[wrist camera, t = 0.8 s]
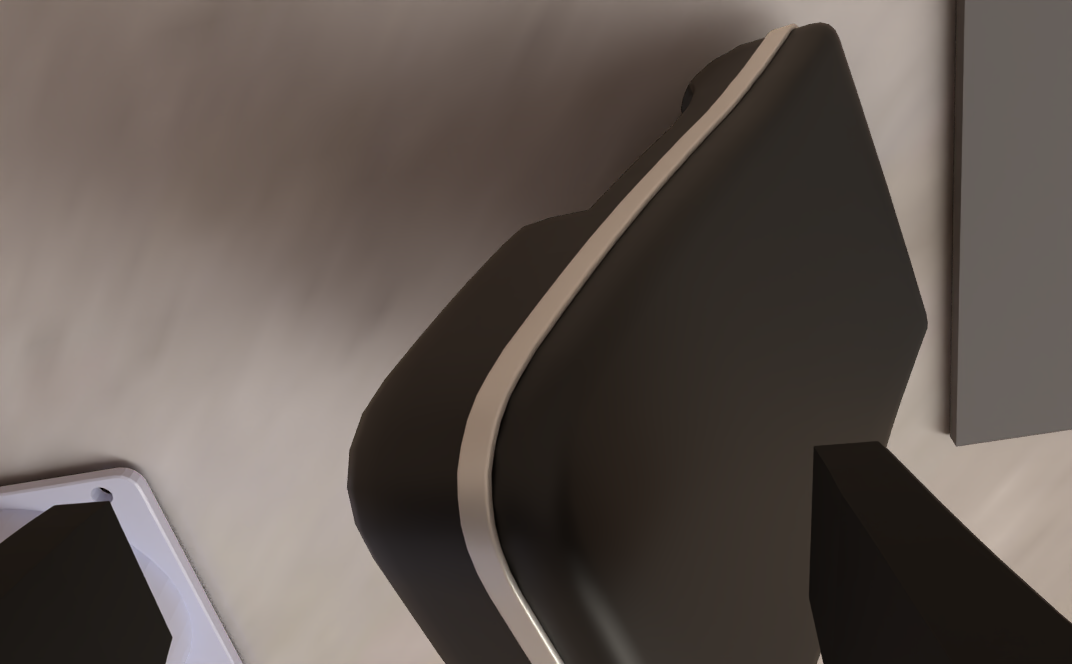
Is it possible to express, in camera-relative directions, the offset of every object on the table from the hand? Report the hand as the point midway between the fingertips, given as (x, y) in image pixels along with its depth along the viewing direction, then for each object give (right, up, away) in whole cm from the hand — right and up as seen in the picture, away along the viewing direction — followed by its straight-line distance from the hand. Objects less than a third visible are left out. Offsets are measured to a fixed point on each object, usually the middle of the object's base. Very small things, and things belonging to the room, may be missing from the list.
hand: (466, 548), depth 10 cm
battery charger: (+6, +5, +9) cm, 12 cm away
